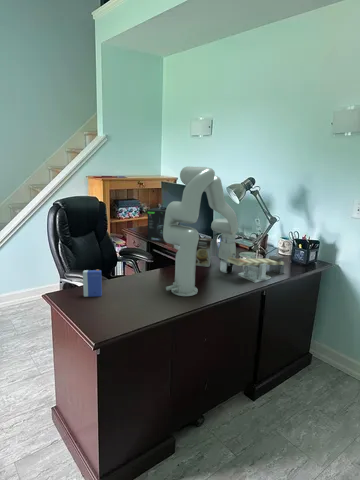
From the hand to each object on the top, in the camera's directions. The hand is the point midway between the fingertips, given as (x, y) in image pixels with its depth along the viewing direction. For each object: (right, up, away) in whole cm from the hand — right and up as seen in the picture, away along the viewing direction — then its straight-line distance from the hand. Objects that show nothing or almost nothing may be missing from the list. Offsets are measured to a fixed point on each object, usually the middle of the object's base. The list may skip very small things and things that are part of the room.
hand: (226, 270), depth 193 cm
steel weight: (0, 0, 0) cm, 1 cm away
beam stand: (+20, -2, -4) cm, 20 cm away
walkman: (-66, -8, -39) cm, 77 cm away
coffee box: (-13, +2, +11) cm, 17 cm away
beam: (+15, +4, -9) cm, 18 cm away
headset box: (-39, +17, +68) cm, 80 cm away
